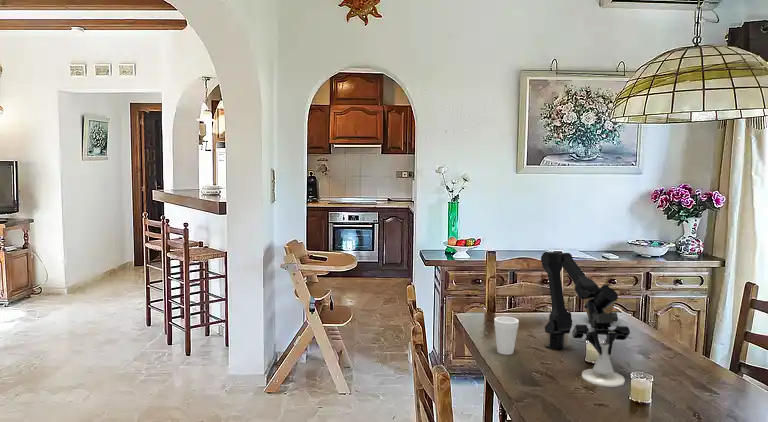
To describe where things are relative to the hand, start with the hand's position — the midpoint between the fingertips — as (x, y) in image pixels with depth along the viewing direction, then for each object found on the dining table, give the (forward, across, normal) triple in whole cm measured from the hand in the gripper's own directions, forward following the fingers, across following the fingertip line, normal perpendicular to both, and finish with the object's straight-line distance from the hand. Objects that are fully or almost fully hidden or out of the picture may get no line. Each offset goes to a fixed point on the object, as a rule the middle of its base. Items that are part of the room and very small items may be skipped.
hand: (605, 354), depth 197 cm
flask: (+4, 0, +6) cm, 7 cm away
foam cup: (-12, -30, +26) cm, 41 cm away
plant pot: (-43, +21, +57) cm, 75 cm away
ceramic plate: (+6, 0, +7) cm, 9 cm away
